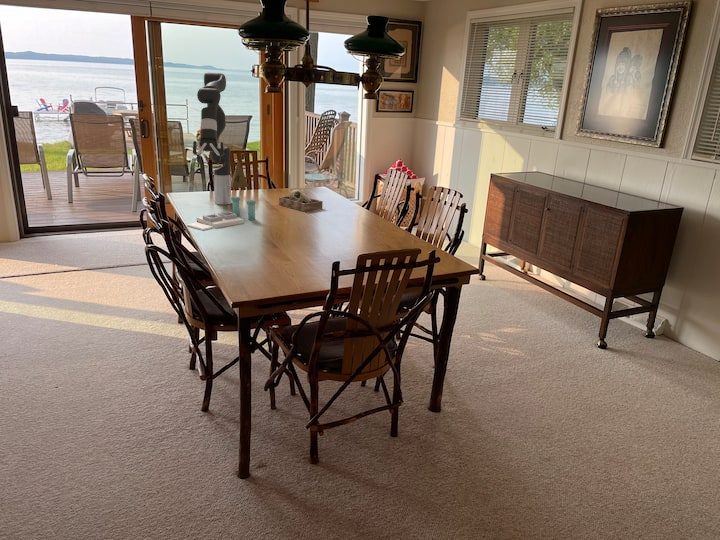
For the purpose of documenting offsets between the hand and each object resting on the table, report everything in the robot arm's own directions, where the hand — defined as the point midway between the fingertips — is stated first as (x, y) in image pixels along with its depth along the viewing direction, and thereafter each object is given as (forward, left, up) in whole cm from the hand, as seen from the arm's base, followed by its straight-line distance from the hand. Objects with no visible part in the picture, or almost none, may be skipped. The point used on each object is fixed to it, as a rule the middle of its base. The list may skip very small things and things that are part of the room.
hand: (208, 163), depth 251 cm
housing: (-7, +10, -31) cm, 34 cm away
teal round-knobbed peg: (-3, +26, -31) cm, 41 cm away
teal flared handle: (-14, +24, -32) cm, 42 cm away
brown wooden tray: (-11, +68, -31) cm, 76 cm away
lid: (-5, -4, -31) cm, 32 cm away
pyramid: (-84, +76, -32) cm, 118 cm away
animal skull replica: (-10, +68, -32) cm, 76 cm away
